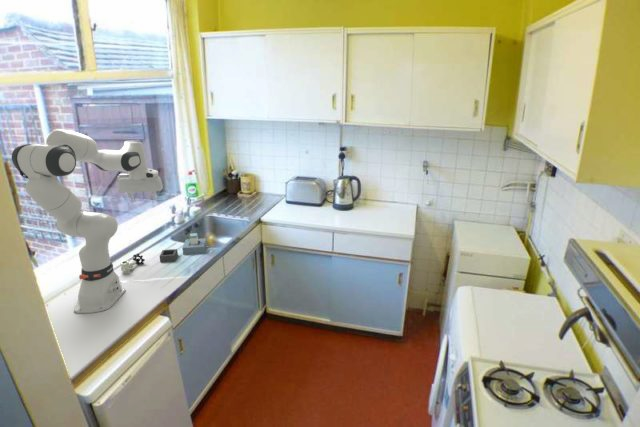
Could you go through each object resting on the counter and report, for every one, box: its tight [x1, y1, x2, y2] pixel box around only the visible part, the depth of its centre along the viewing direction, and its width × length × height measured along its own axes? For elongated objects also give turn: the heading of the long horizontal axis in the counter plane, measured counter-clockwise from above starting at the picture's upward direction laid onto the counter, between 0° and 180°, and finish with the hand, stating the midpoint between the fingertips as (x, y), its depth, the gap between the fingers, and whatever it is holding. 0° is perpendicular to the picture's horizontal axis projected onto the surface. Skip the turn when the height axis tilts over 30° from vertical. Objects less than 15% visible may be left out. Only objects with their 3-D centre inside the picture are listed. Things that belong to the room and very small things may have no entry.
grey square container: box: [159, 248, 179, 263], centre depth 204 cm, size 7×7×4 cm
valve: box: [120, 253, 145, 275], centre depth 194 cm, size 7×7×12 cm
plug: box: [189, 232, 199, 245], centre depth 213 cm, size 4×4×9 cm
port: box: [181, 237, 208, 256], centre depth 214 cm, size 11×11×5 cm
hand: (143, 200), depth 195 cm, fingers open, 8 cm apart
